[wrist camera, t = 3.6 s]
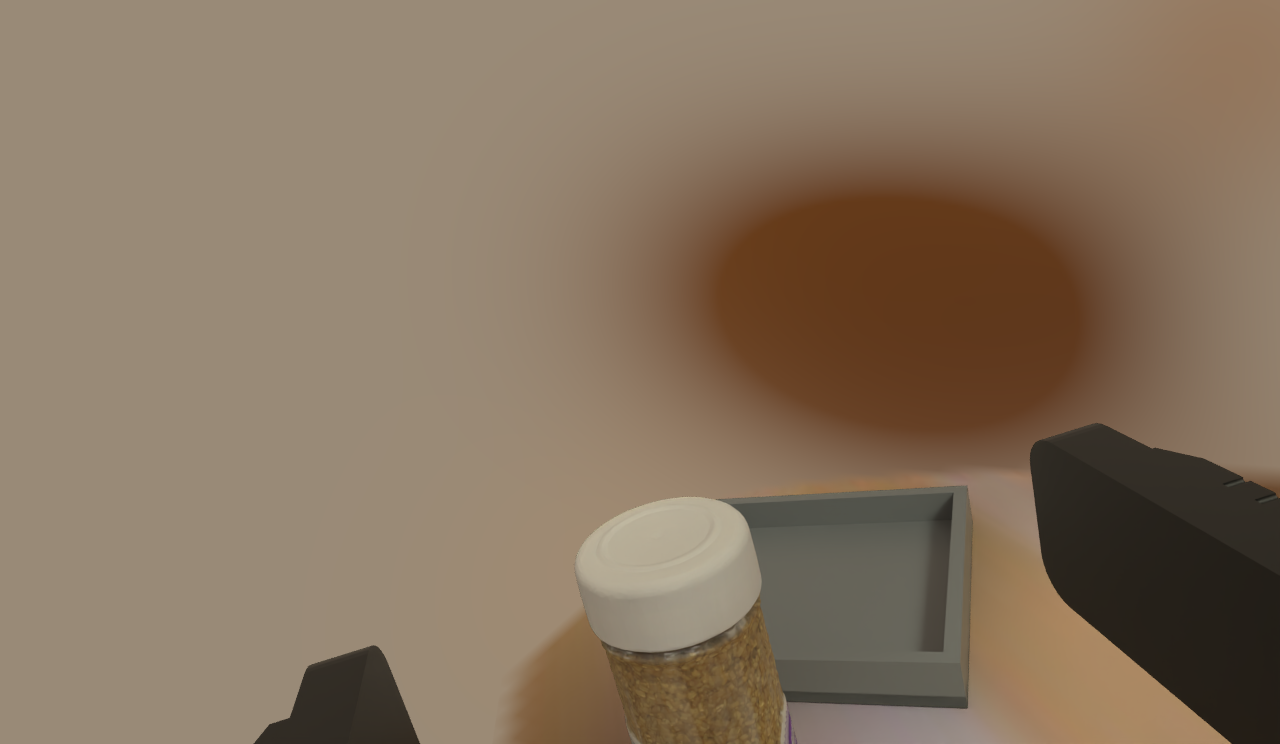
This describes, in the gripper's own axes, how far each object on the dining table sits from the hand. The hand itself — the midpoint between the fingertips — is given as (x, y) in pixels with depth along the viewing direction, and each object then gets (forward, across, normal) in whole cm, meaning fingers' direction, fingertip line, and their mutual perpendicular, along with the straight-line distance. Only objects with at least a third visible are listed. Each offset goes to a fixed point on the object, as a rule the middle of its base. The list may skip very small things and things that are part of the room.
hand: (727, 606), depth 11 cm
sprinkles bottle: (+11, 0, +18) cm, 21 cm away
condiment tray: (+26, -7, +18) cm, 32 cm away
